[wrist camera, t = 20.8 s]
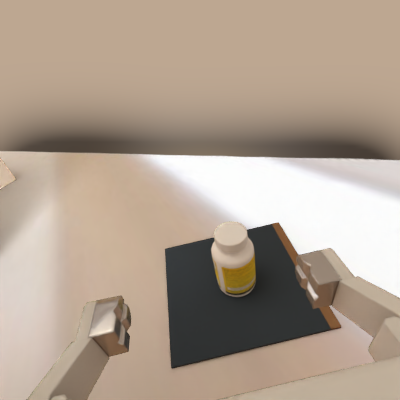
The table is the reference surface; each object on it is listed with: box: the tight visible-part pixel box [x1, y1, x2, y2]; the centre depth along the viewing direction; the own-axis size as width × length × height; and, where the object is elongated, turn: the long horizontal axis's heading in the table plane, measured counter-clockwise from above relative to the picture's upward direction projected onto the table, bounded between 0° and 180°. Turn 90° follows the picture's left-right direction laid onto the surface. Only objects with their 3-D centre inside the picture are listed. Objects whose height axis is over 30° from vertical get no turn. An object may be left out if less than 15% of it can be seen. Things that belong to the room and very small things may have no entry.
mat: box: [165, 223, 341, 368], centre depth 36 cm, size 20×18×1 cm
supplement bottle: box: [211, 222, 256, 297], centre depth 32 cm, size 5×5×10 cm
